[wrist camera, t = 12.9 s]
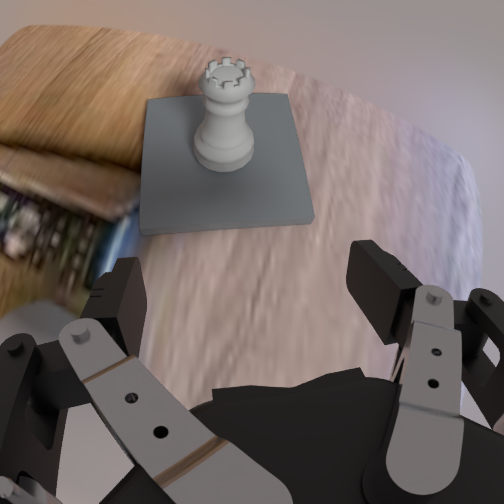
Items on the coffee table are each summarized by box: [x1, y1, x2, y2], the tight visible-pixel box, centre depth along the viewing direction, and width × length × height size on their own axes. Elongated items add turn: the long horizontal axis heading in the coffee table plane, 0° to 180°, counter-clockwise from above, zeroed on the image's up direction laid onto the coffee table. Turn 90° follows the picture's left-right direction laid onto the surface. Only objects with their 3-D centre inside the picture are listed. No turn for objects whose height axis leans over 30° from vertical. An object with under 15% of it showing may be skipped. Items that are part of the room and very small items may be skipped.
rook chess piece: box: [194, 57, 255, 172], centre depth 20 cm, size 4×4×8 cm
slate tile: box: [139, 93, 315, 236], centre depth 24 cm, size 12×12×1 cm
